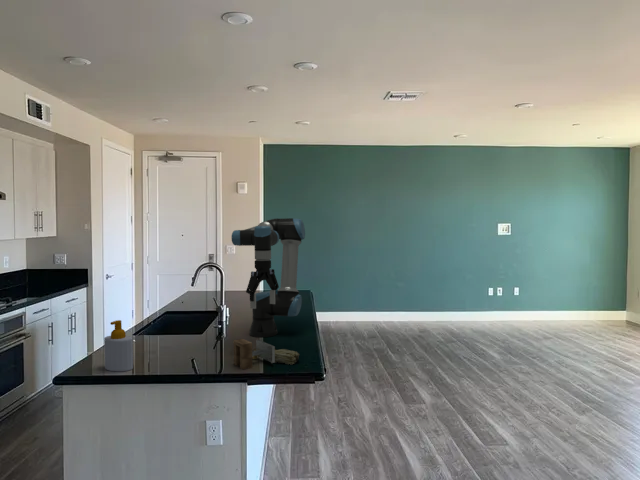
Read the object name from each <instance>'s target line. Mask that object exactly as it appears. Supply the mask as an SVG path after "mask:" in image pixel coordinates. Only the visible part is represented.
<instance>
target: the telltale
mask: <svg viewBox="0 0 640 480" xmlns="http://www.w3.org/2000/svg"><path fill="white" fill-rule="evenodd" d="M253 351H256V348H254V349H253ZM252 357H253V359H252V360H257V359H258V356H257V355H255V356H252Z"/></svg>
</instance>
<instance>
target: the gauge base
mask: <svg viewBox="0 0 640 480" xmlns="http://www.w3.org/2000/svg"><path fill="white" fill-rule="evenodd" d="M252 351H253V342H252V341H249V340H247V339H244V338H239V339H235V340H233V365H234V366H236V367H238V366H239V369H241V370H246V369H251V368H253V360H254V359H253V356H252Z"/></svg>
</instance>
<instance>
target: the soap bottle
mask: <svg viewBox="0 0 640 480" xmlns="http://www.w3.org/2000/svg"><path fill="white" fill-rule="evenodd" d="M109 323H110V325H112V326H113V325H114V329H113V330H112V331H111V332H110V335H107V336H105V337H104V343H103V344H104V369H105V370H107V371H110V372H129V371H132V370H133V369H134V351H133V349H134V348H133V345H134V344H133V342H134V341H133V337H132V336H129V335H127V334H126V331H125V330H124V329H122V325H123V324H122V320H120V319H117V320H114V321H111V322H109Z"/></svg>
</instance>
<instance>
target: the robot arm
mask: <svg viewBox="0 0 640 480" xmlns="http://www.w3.org/2000/svg"><path fill="white" fill-rule="evenodd" d="M305 238H306V229H305V224H304V222H303V220H302V219H301V218H295V217H293V218H286V217H285V218H270V219H267V220H265V221H261V222H260V223H258V224H257V225H255V226H252V227H249V228H245V229H236V230H233V231H232V233H231V243H232V245H234V246H239V247H242V246H249V247H250V246H252V247H254V269H255V271H251V272H250V277H249V281H248V284H247V286H246V287H247V288H246V290H245V292H246V294H248V295H249V301H250V302H249V303H250V304H249V305H250V309H252V321H251V324H250V328H249V336H251V337H254V338H270V337H273V336H276V335H277V334H278V327H277V324H276V322H275V317H276V316H277V317H296V316H298V315H299V313H300V311H301V310H302V309H301V308H302V303H303V297H302V295H301V294H300V293H299V292H300V291H299V290H298V289H297V281H298V280H297V278H298V260H299V246H300V245H301V244H302V240H305ZM279 240H280V243H281V244H282V257H281V258H282V260H281V272H280V273H281V275H280V276H281V277H280V287H279V282H278V280H277V277H276V274H275V269H274V268H273V269H272V260H271V259H272V247H274V246H275V245H277V244H278V243H279ZM263 281H266V283H267V284H268V286H269V288H270V290H268V291H267V290H265V291H260V292H257V289H258V288H259V286H260V283H261V282H263ZM276 291H277V292H276Z"/></svg>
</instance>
